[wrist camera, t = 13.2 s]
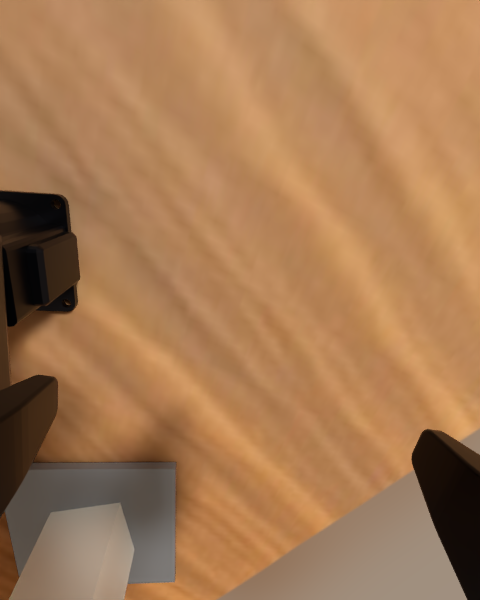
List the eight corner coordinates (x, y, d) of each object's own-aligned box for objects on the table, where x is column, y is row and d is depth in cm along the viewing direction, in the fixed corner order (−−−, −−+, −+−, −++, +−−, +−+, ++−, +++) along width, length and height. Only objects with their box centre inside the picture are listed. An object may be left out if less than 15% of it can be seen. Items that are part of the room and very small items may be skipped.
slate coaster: (25, 579, 28) (21, 587, 27) (1, 463, 24) (-5, 469, 23) (175, 574, 29) (174, 582, 28) (176, 462, 25) (175, 468, 24)
